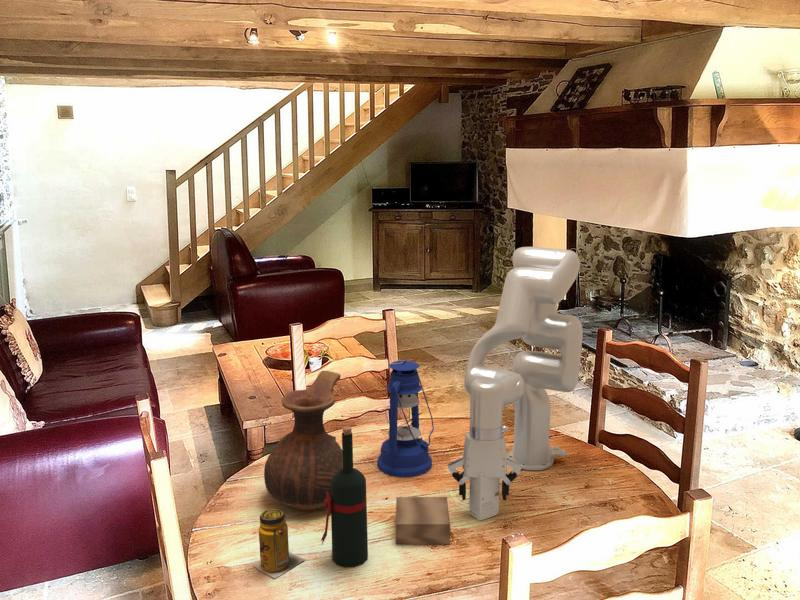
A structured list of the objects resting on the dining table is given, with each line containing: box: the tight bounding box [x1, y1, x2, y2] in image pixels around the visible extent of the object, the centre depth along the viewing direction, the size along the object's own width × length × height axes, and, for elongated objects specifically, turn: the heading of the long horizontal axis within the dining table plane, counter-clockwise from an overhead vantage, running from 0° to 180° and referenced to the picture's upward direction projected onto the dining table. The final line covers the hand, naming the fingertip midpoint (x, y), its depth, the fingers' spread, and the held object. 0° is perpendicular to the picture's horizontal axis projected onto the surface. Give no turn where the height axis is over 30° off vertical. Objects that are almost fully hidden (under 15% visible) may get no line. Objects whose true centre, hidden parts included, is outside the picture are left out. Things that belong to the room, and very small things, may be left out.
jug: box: [263, 370, 343, 511], centre depth 176 cm, size 22×22×30 cm
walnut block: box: [395, 496, 451, 545], centre depth 165 cm, size 12×12×5 cm
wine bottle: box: [320, 425, 369, 568], centre depth 151 cm, size 8×10×30 cm
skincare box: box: [468, 473, 500, 522], centre depth 171 cm, size 6×4×12 cm
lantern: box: [376, 359, 435, 478], centre depth 194 cm, size 17×15×30 cm
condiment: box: [252, 508, 306, 579], centre depth 151 cm, size 7×8×12 cm
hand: (483, 497), depth 171 cm, fingers open, 9 cm apart
